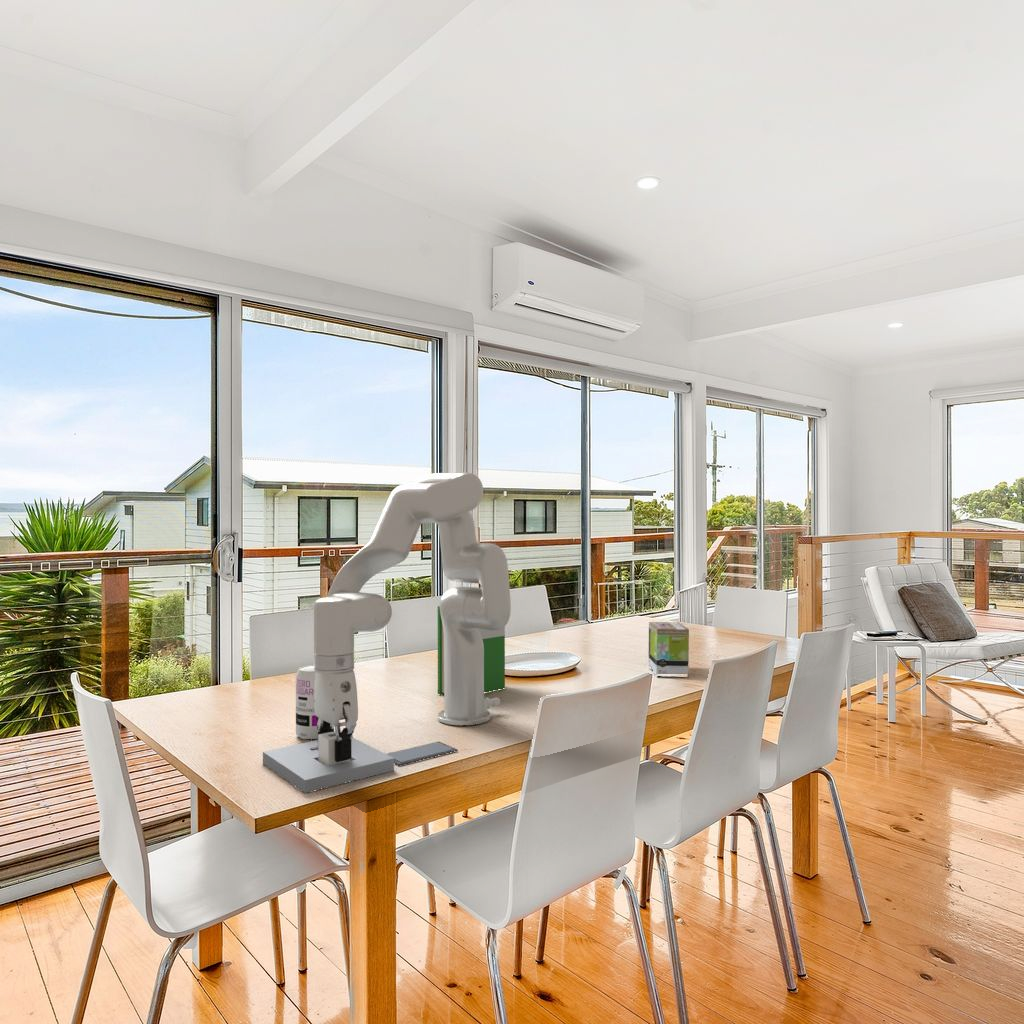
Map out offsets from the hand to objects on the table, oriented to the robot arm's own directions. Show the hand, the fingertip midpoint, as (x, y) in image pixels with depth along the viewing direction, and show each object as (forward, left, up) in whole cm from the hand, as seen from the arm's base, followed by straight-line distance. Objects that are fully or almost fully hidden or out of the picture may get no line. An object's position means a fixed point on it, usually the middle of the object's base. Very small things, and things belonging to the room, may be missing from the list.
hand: (334, 754), depth 142 cm
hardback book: (-57, -33, -3) cm, 66 cm away
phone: (-18, +2, -4) cm, 19 cm away
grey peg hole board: (0, -3, -3) cm, 4 cm away
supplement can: (-7, -24, -3) cm, 25 cm away
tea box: (-118, -14, -4) cm, 119 cm away
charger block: (0, 0, -3) cm, 3 cm away
